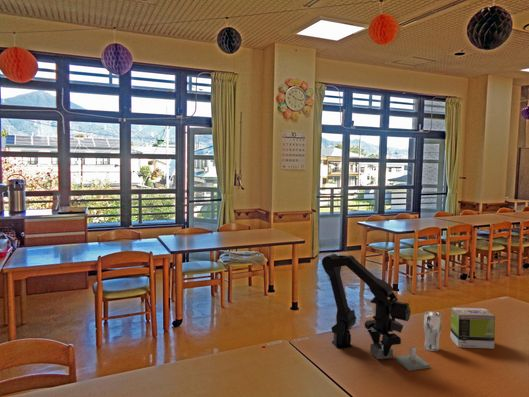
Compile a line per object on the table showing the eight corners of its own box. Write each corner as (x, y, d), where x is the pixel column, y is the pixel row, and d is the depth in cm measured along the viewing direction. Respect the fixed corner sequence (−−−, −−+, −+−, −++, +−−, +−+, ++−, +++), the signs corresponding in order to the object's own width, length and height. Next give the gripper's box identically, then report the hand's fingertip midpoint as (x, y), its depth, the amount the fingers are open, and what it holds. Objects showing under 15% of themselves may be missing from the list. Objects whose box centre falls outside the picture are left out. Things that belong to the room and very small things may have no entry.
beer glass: (421, 349, 174) (423, 315, 172) (423, 343, 180) (425, 310, 179) (439, 353, 171) (441, 318, 169) (441, 346, 177) (442, 312, 175)
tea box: (484, 339, 184) (486, 307, 183) (494, 349, 174) (496, 315, 173) (449, 338, 186) (450, 306, 185) (457, 347, 176) (459, 314, 175)
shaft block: (408, 370, 156) (409, 355, 156) (395, 359, 165) (396, 345, 164) (429, 367, 158) (430, 352, 158) (415, 357, 167) (416, 342, 167)
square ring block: (378, 359, 163) (378, 350, 163) (370, 352, 169) (370, 343, 169) (392, 357, 165) (392, 349, 165) (384, 350, 171) (384, 342, 171)
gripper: (414, 322, 159) (412, 360, 160) (388, 305, 177) (386, 340, 178) (388, 324, 156) (386, 364, 157) (364, 307, 174) (363, 343, 175)
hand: (381, 352), depth 167 cm, fingers closed on square ring block, 6 cm apart
